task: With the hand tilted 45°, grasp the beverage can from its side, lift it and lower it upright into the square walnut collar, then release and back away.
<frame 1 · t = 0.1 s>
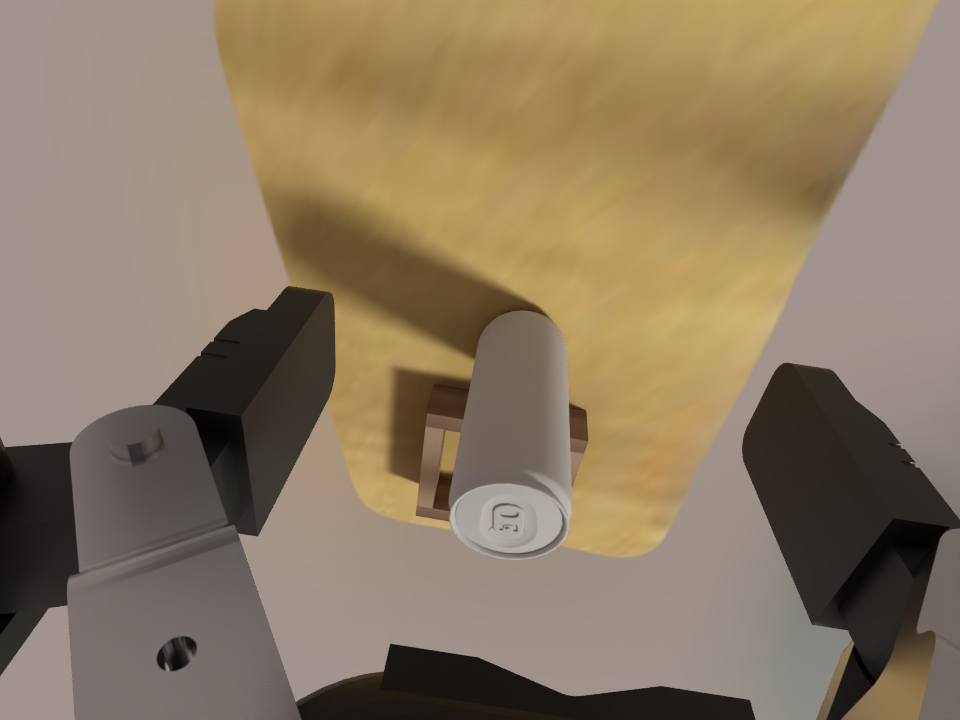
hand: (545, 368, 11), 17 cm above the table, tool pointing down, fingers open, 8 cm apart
beverage can: (522, 340, 32), on the table
collar: (498, 451, 37), on the table
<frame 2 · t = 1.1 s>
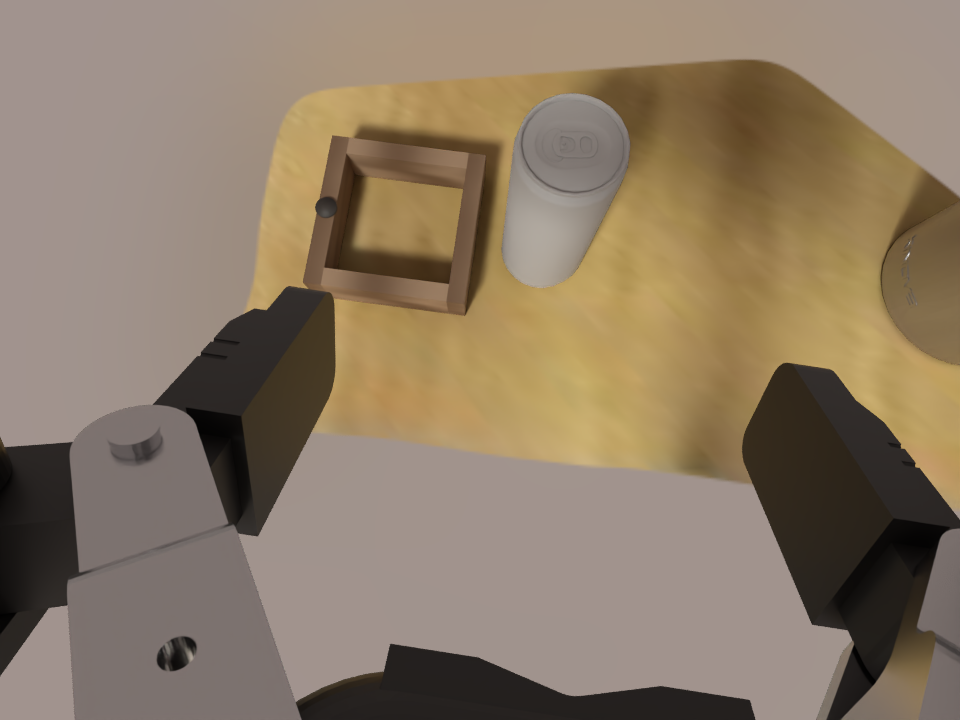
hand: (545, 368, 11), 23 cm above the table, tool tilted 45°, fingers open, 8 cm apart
beverage can: (540, 254, 35), on the table
collar: (402, 234, 35), on the table
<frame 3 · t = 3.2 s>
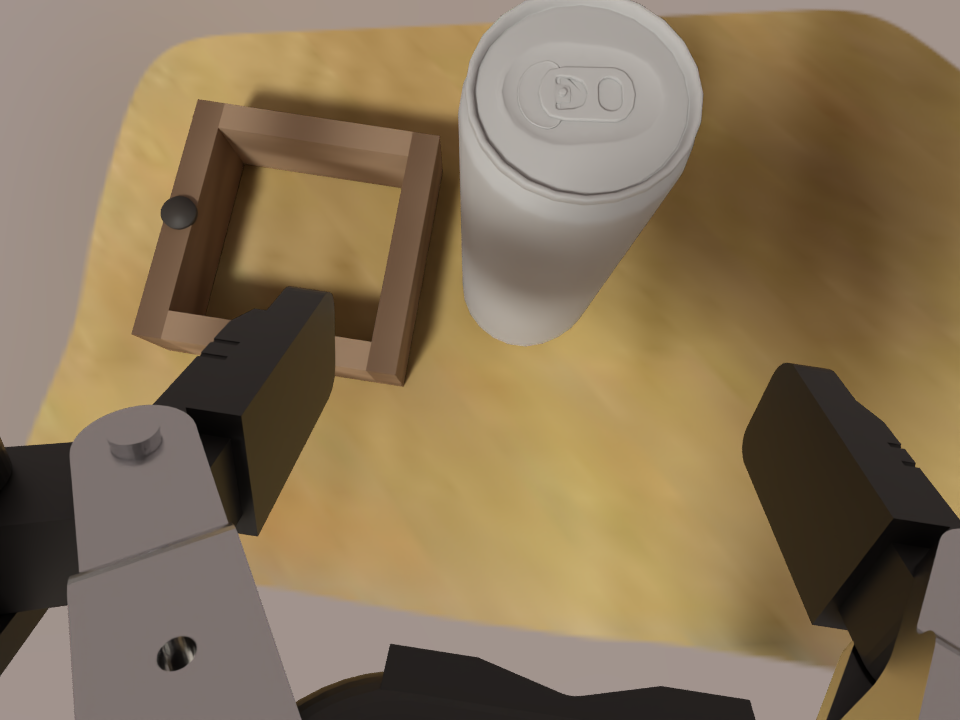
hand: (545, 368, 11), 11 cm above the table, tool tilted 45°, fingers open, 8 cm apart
beverage can: (523, 291, 23), on the table
collar: (310, 257, 23), on the table
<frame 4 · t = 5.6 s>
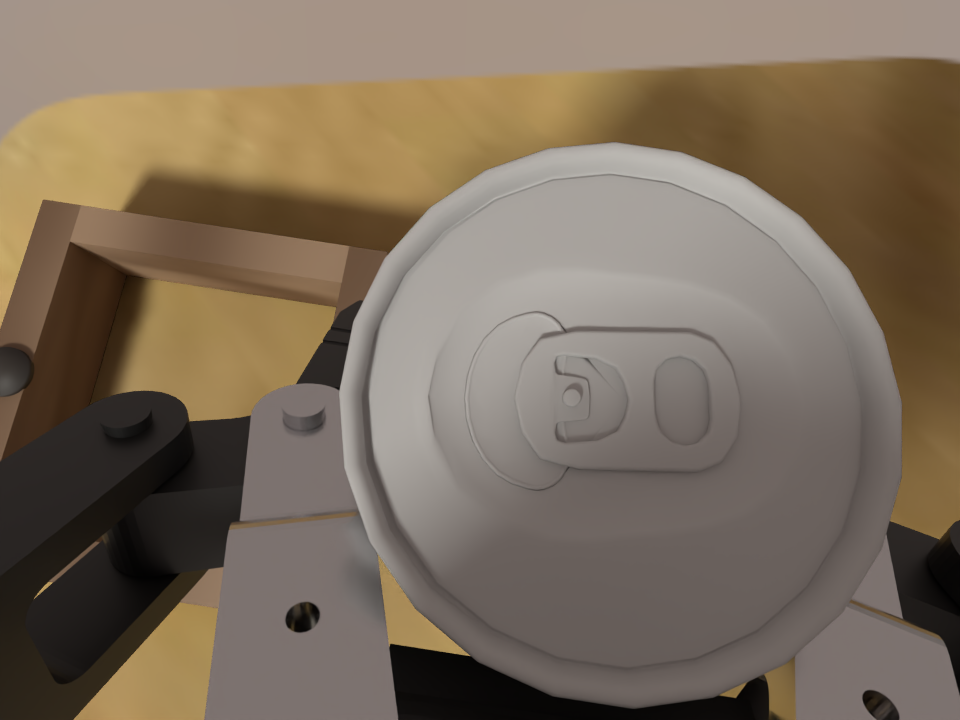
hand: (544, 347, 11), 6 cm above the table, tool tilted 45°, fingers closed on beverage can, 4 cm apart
beverage can: (509, 455, 17), on the table, touching gripper
collar: (214, 409, 16), on the table
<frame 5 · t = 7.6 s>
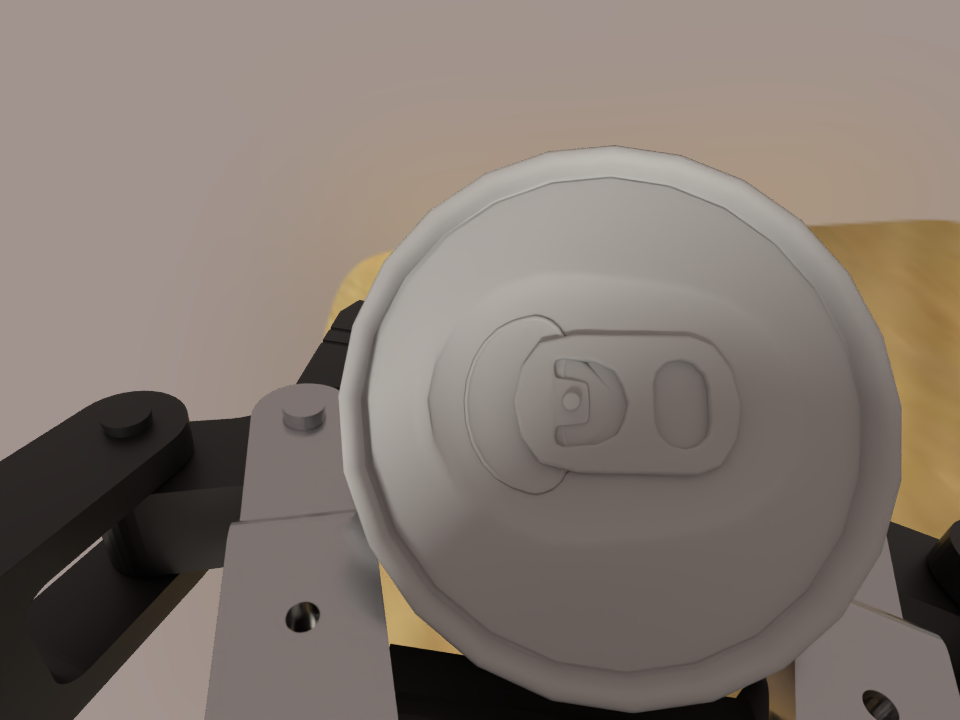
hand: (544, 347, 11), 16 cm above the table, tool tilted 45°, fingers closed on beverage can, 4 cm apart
beverage can: (509, 456, 17), point 10 cm above the table, touching gripper
when the fingers open (7 cm above the table, at t = 9.6 s): beverage can drops 1 cm, resting in collar.
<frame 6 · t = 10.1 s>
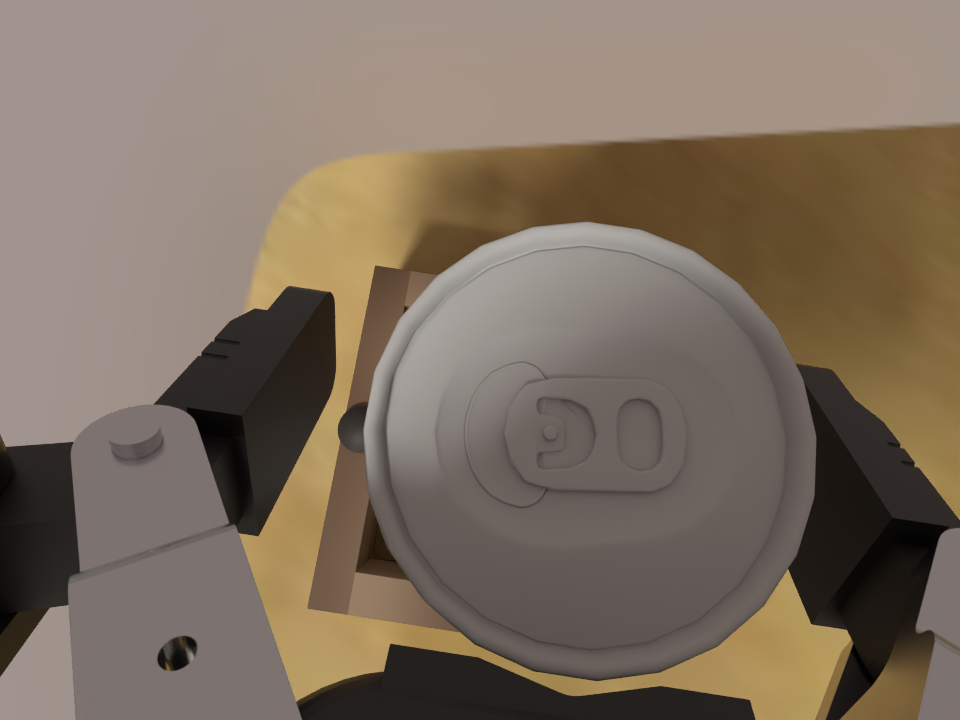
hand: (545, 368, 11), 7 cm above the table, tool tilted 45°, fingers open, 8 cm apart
beverage can: (507, 462, 18), resting in collar
collar: (507, 456, 18), on the table
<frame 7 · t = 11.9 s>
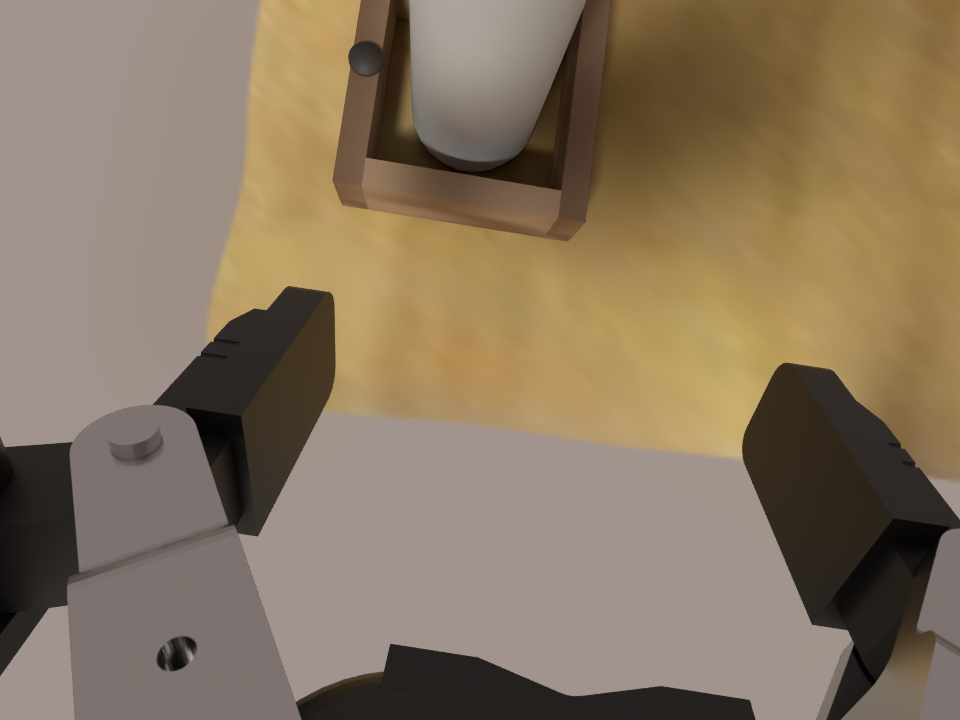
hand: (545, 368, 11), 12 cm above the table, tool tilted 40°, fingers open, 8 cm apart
beverage can: (472, 122, 23), resting in collar
collar: (471, 115, 23), on the table
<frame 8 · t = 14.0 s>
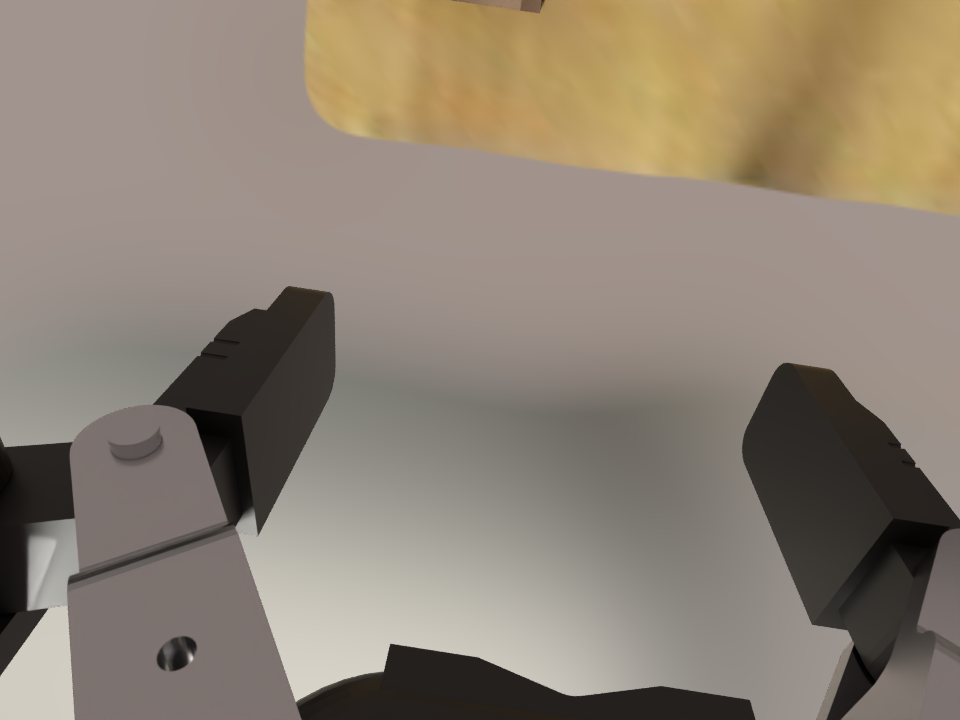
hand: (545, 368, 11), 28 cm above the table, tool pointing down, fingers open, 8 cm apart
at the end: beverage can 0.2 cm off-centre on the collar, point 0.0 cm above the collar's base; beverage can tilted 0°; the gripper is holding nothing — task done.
